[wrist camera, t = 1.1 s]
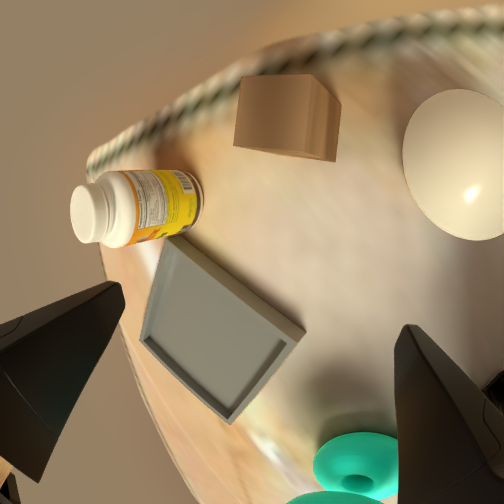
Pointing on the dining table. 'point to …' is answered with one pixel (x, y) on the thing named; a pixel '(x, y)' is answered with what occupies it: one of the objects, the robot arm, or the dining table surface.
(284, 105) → the walnut block
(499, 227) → the cream rounded block
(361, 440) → the donuts
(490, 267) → the dining table surface
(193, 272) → the slate tray
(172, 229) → the supplement bottle
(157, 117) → the dining table surface
